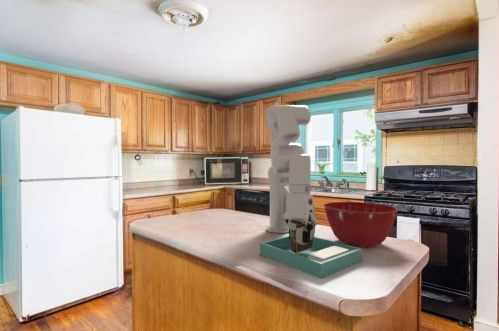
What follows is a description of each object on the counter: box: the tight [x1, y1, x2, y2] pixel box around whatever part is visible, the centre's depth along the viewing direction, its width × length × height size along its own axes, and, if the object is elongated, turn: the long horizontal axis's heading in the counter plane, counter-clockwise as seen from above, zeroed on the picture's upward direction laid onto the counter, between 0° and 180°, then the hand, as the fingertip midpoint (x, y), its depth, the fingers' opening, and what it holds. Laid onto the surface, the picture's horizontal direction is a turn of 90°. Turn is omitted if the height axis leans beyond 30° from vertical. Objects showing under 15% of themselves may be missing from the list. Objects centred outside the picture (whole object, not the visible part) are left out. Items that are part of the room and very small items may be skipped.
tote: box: [259, 235, 363, 279], centre depth 97 cm, size 22×26×5 cm
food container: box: [288, 220, 316, 253], centre depth 100 cm, size 12×6×10 cm, turn 132°
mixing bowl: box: [323, 201, 399, 249], centre depth 117 cm, size 28×28×16 cm
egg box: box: [308, 246, 349, 262], centre depth 90 cm, size 14×6×4 cm, turn 129°
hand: (299, 239), depth 100 cm, fingers closed on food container, 5 cm apart
